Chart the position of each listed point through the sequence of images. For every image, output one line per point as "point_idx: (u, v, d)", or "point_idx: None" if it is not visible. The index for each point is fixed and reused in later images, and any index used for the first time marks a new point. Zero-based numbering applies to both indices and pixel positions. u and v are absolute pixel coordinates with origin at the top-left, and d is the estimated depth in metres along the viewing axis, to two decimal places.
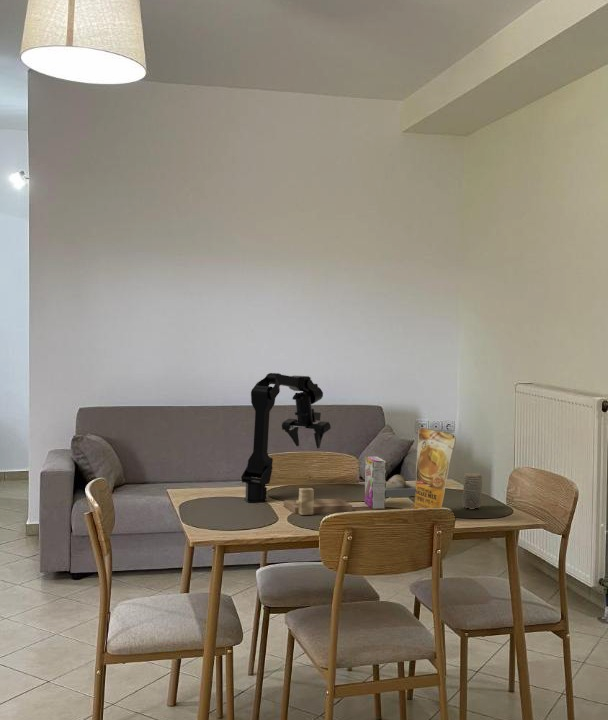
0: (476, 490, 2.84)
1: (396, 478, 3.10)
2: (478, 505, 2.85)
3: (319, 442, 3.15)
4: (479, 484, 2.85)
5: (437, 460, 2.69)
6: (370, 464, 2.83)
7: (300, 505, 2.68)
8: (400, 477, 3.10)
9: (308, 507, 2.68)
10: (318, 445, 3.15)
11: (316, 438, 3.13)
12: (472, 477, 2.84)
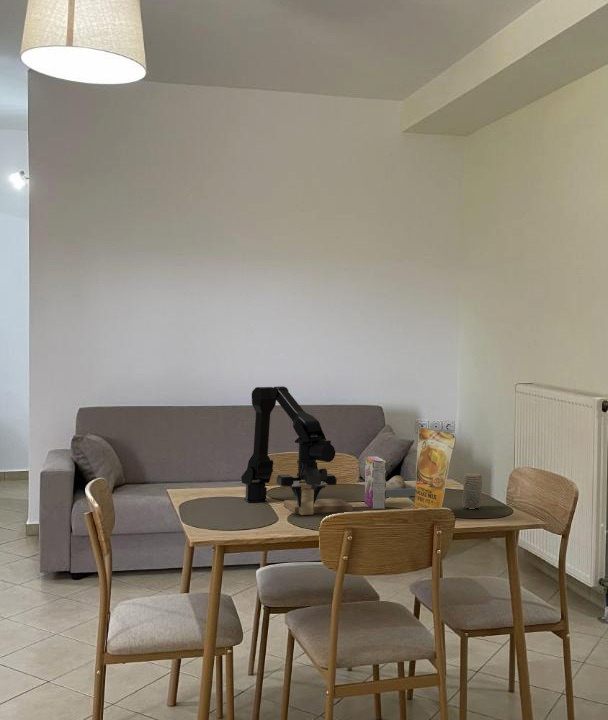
0: (476, 490, 2.84)
1: (396, 479, 3.08)
2: (478, 505, 2.85)
3: (296, 498, 2.68)
4: (479, 484, 2.85)
5: (437, 460, 2.70)
6: (370, 464, 2.83)
7: None
8: (399, 478, 3.08)
9: (308, 507, 2.68)
10: (297, 502, 2.69)
11: None
12: (472, 477, 2.84)
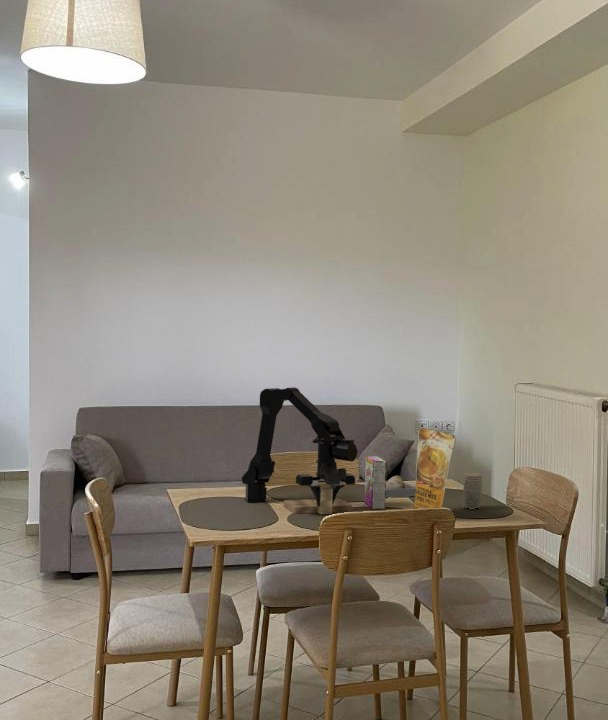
0: (476, 490, 2.84)
1: (395, 479, 3.08)
2: (478, 505, 2.85)
3: (315, 498, 2.70)
4: (479, 484, 2.85)
5: (437, 460, 2.70)
6: (370, 464, 2.83)
7: None
8: (399, 478, 3.08)
9: (327, 506, 2.70)
10: (316, 501, 2.71)
11: None
12: (472, 477, 2.84)
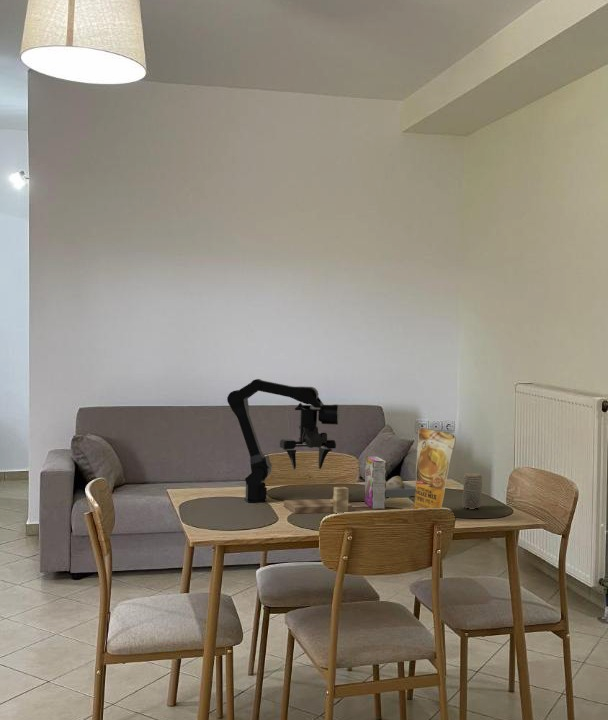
0: (476, 490, 2.84)
1: (394, 479, 3.07)
2: (478, 505, 2.85)
3: (291, 461, 2.85)
4: (479, 484, 2.85)
5: (437, 460, 2.69)
6: (370, 464, 2.83)
7: (335, 504, 2.72)
8: (398, 478, 3.07)
9: (343, 506, 2.71)
10: (292, 464, 2.86)
11: None
12: (472, 477, 2.84)
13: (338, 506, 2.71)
